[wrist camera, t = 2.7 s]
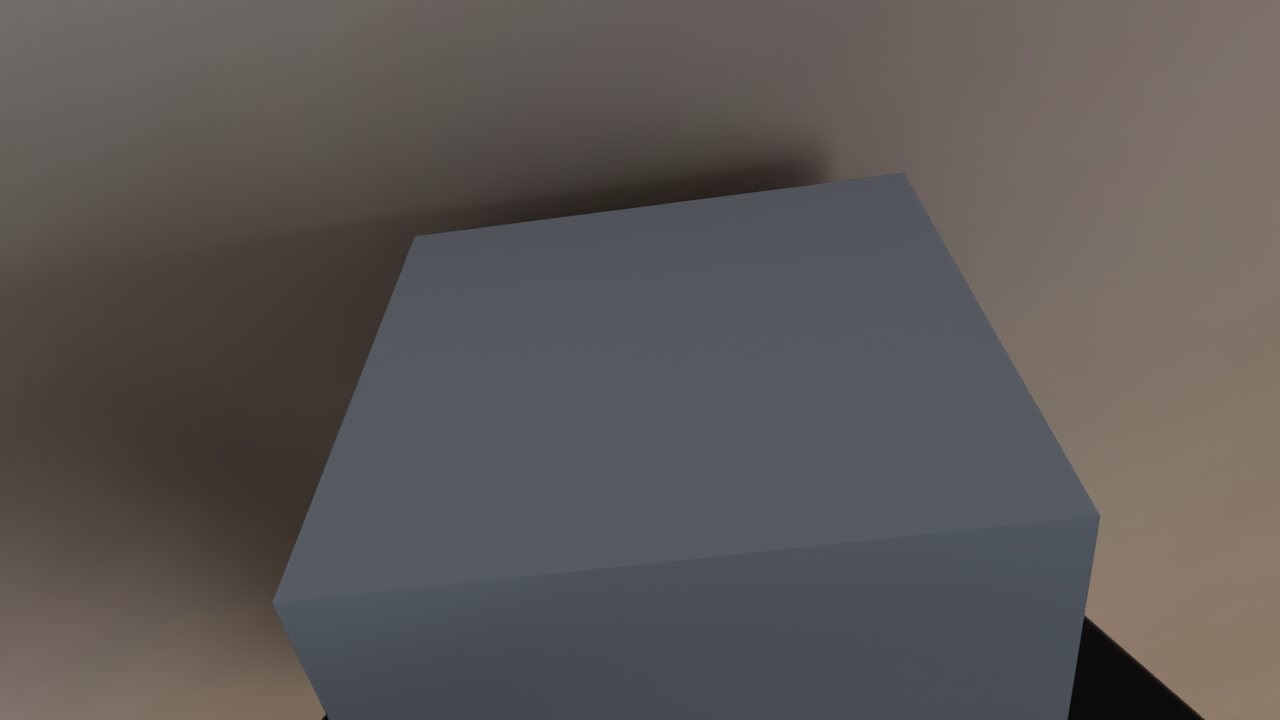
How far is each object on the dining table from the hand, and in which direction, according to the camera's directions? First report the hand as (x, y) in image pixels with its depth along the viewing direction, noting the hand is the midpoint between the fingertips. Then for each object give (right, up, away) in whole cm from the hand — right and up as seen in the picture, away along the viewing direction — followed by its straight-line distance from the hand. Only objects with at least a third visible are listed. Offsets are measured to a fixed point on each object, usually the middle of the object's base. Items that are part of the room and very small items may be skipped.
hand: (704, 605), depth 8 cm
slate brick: (0, +1, +1) cm, 2 cm away
